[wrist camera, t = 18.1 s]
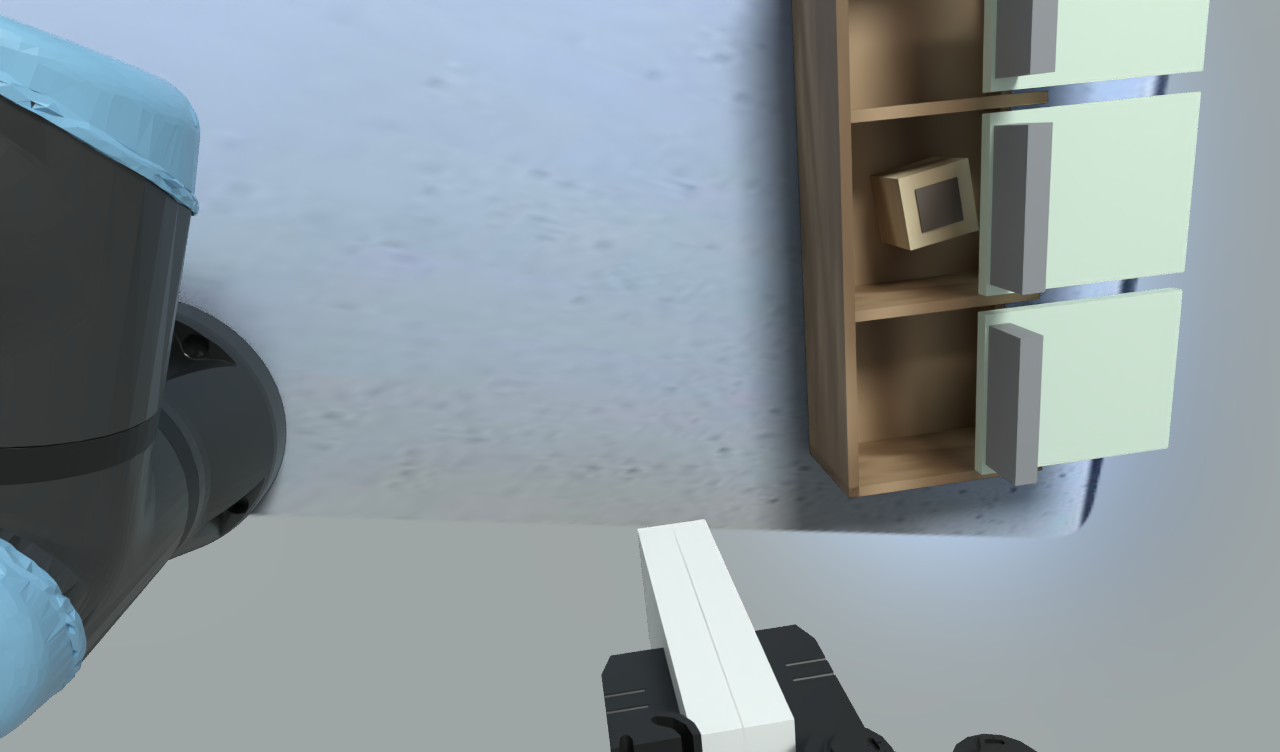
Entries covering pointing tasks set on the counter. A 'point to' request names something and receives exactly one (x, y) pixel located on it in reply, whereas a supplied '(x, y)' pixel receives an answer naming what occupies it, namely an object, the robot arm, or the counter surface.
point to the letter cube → (924, 202)
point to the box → (883, 273)
